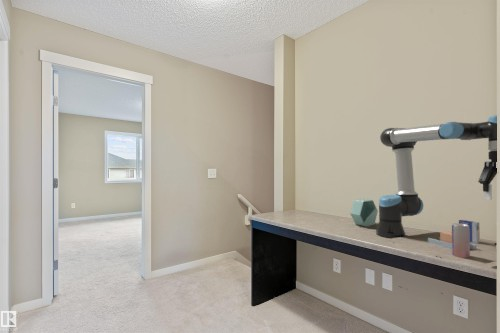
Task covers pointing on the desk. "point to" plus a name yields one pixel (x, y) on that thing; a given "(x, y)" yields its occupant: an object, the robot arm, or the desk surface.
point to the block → (446, 237)
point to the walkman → (472, 230)
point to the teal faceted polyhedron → (364, 212)
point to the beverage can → (461, 240)
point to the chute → (445, 244)
